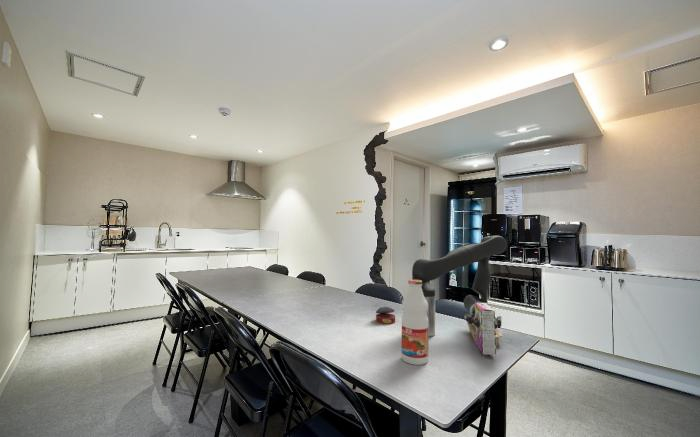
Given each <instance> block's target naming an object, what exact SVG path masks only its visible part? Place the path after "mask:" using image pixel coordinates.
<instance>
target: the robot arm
mask: <svg viewBox="0 0 700 437" xmlns="http://www.w3.org/2000/svg"><path fill="white" fill-rule="evenodd" d="M507 247H508V242H507V240H506V239H505V238H504V237H503V236H500V235H487V236H484V237H482V238H481V240H480V242H479V243H472V244H467V245H463V246H459V247H457V248H455V249H451V250H450V251H449V252H448V253H447V254H446V255H445V256H443V257H441V258H437V259H431V260H430V259H422V258H420V259H417V260H415V262H414V263H413V265H412V269H411V272H412V274H411V275H412V276H411V277H412V278H411V280H421V281H422V286H421V288H422V292H423V295H424V297H425V299H426V301H427V303H428V311H427V317H428V324H429V327H428V338H430V337H433V336H435V335H436V290H435V288H434V287H433V286H432V284H431V281H434V280H437V279H439V278H440V277H442V276H444V275H445V274H448V273H449V272H452V271H456V270H458V269H459V270H460V269H461V268H465V267H467V266H469V265H472V264H473V263H477V266H476V273H475V275H474V276H475V277H474V280H473V284H472V286H471V289H472V291H473V292H475V293H477V294H478V295H479V296H480V297H477V296H475V295H472V294H468V295H466V296H465V297H464V299H463V306H464V309H465V310H466V311H468V312H469V313H470V314H468V313H467V312H466V313H464V321H466V322H468V323H469V324H472V323H474V326H476V327H478V328H479V321H478V319H477V318H476V315H475V303H477V302H478V303H487V304H488V293H489V287H490V284H491V278H492V273H491V271H490V258H491V257H492V256H495V255H496V256H497V255H500V254H503V253H504V252H505V251H506V250H507ZM488 305H489V304H488ZM501 327H502V316H501V315H499V316H497V317H495V329H496V328H498V329H499V328H501Z"/></svg>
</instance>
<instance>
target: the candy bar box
mask: <svg viewBox="0 0 700 437" xmlns="http://www.w3.org/2000/svg"><path fill="white" fill-rule="evenodd" d="M475 315H476V318H477V319H478V321H479V328H478V327H476V326H475V327H476V343H475V344H476V345H477V347H478V349H479V351H480V352H481V355H485V356H496V355H497V345H496V337H495V318H496V310H494V308H493V307H492V306H491V305H489V304H487V303H478V302H477V303H475Z"/></svg>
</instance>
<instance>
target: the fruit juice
mask: <svg viewBox="0 0 700 437" xmlns="http://www.w3.org/2000/svg"><path fill="white" fill-rule="evenodd" d="M421 286H422V281H421V280H412V279H408V289H407V292H406V295H405V297H404V299H403V300H402V304H401V306H402V311H403V312H402V313H403V314H402V317H401V349H400V350H401V352H400V353H401V354H400V355H401V359H402V360H403V361H404V362H405V363H407V364H410V365H412V366H415V365H416V366H423V365H425V364H427V363H428V362H429V337H428V327H429V324H428V317H427V311H428V303H427V301H426V299H425V297H424V295H423V292H422V288H421Z"/></svg>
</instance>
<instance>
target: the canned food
mask: <svg viewBox="0 0 700 437" xmlns="http://www.w3.org/2000/svg"><path fill="white" fill-rule="evenodd" d="M375 313H376V314H375V321H376V323H378V324H382V325H393V324H395V323H396V315H394V313H395V309H393V308H392V307H388V306H383V307H381V306H380V307H379V308H378V309H377V310H376V311H375Z"/></svg>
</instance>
